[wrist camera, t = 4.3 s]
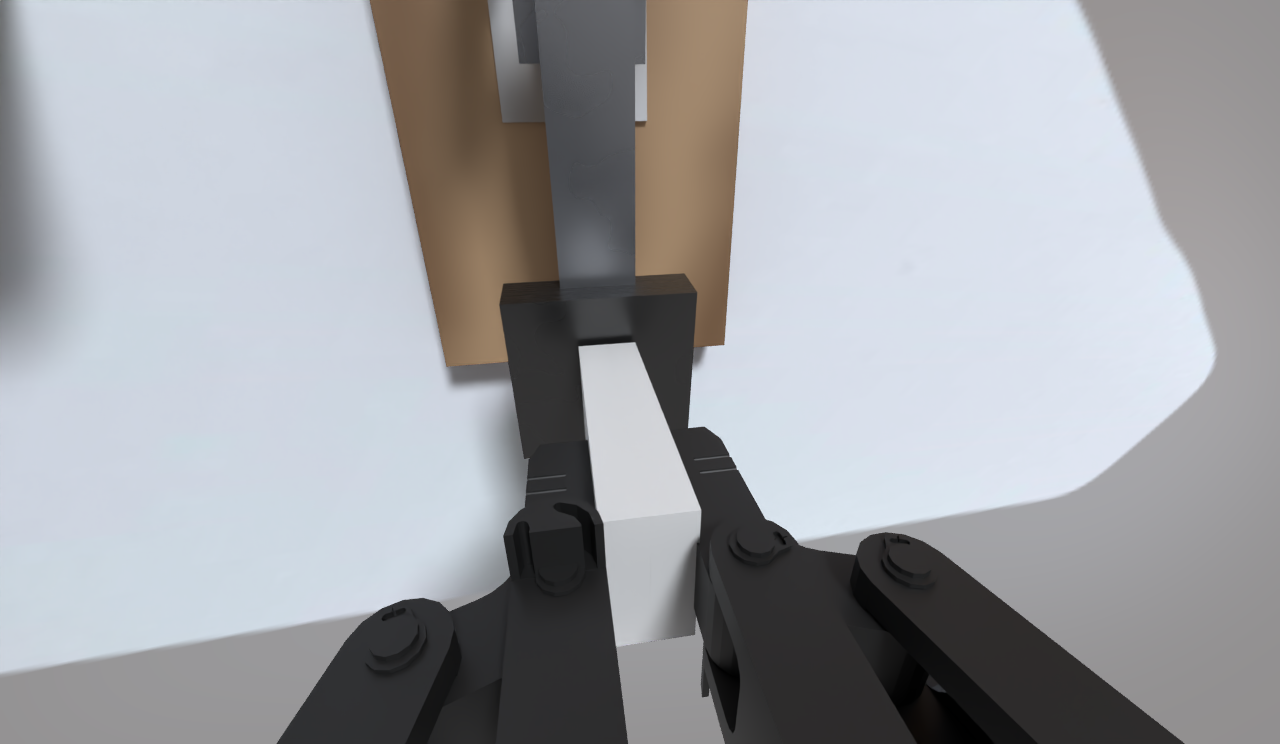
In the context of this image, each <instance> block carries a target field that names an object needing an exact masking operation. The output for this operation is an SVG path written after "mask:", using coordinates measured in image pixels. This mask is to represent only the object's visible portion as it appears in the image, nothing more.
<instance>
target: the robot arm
mask: <svg viewBox="0 0 1280 744" xmlns="http://www.w3.org/2000/svg"><path fill="white" fill-rule="evenodd" d="M578 347H579V360H580V373H581V386H582V400H583V413H584V426H585V438H586V440H581V441H571V442H561V443H551V444H541V445H539V447H538V448H537V450H536V451H535V452H534V454H533V455H532V456H531V458H530V459H529V464H528V476H527V479H528V481H527V488H526V500H525V508H523V509H522V510H520V511H519V512H518V513H517V514H516V515H515V516H514V517H513V518H512V519H511V520H510V521H509V523H508V525H507V528H506V530H505V533H504V535H503V537H504V543H505V548H506V554H507V560H508V565H509V571H510V577H509V578H508V579H507V580H506V581H505V582H504V583H503V584H502V585H501V586H500V587H498V588H497V589H496V590H494V591H493V592H492V593H490V594H488V595H486V596H484V597H482V598H480V599H478V600H476V601H474V602H471V603H469V604H467V605H464V606H462V607H459V608H457V609H455V610H452V611H450V612H449V611H448V610H447V609H446V608H445V607H444V606H443V605H442V604H441V603H440V602H436V601H432V600H429V599H425V598H419V599H410V600H402V601H400V602H397V603H395V604H392V605H390V606H387V607H385V608H382V609H381V610H379V611H378V612H376V613H375V614H373V615H372V616H370V617H369V618H368V619H366V620H365V621H363V622H362V623H361V624H360V625H359V626H358V628H357V629H356V630H355V631H354V632H353V633H352V634H351V635H350V636H349V638H348V639H347V640H346V641H345V643H344V644H343V646H342V647H341V648H340V650H339V652H338V653H337V655H336V656H335V658H334V659H333V661H332V662H331V663H330V665H329V666H328V668H327V669H326V671H325V673H324V674H323V675H322V677H321V678H320V680H319V681H318V683H317V684H316V686H315V687H314V689H313V690H312V692H311V693H310V695H309V697H308V698H307V699H306V701H305V702H304V704H303V705H302V707H301V708H300V710H299V711H298V713H297V714H296V716H295V717H294V719H293V720H292V722H291V723H290V725H289V726H288V728H287V729H286V731H285V732H284V734H283V735H282V736H281V738H280V739H279V741H278V743H277V744H628V740H627V731H626V724H625V715H624V707H623V699H622V691H621V683H620V675H619V667H618V659H617V651H616V647H619V646H625V645H632V644H638V643H645V642H652V641H657V640H665V639H670V638H677V637H683V636H690V635H695V622H696V617H697V620H698V623H699V627H700V630H701V634H702V637H703V641H704V644H703V645H704V646H703V660H702V676H701V689H702V697H707V696H709V688H710V691H711V695H712V698H713V702H714V705H715V709H716V713H717V716H718V720H719V723H720V727H721V731H722V734H723V738H724V741H725V744H1184V743H1183V742H1182V741H1181V740H1179V739H1178V738H1177V737H1176V736H1174V735H1173V734H1172V733H1170V732H1169V731H1168V730H1167V729H1165V728H1164V727H1163V726H1161V725H1160V724H1159V723H1158V722H1156V721H1155V720H1154V719H1153V718H1151V717H1150V716H1149V715H1147V714H1146V713H1145V712H1144V711H1142V710H1141V709H1140V708H1139V707H1137V706H1136V705H1135V704H1133V703H1132V702H1131V701H1130V700H1128V699H1127V698H1126V697H1125V696H1123V695H1122V694H1121V693H1119V692H1118V691H1117V690H1116V689H1114V688H1113V687H1112V686H1111V685H1109V684H1108V683H1107V682H1105V681H1104V680H1103V679H1102V678H1100V677H1099V676H1098V675H1096V674H1095V673H1094V672H1093V671H1091V670H1090V669H1089V668H1087V667H1086V666H1085V665H1083V664H1082V663H1081V662H1080V661H1079V660H1077V659H1076V658H1075V657H1074V656H1072V655H1071V654H1069V653H1068V652H1067V651H1066V650H1065V649H1063V648H1062V647H1061V646H1060V645H1058V644H1057V643H1056V642H1054V641H1053V640H1052V639H1051V638H1049V637H1048V636H1047V635H1046V634H1044V633H1043V632H1041V631H1040V630H1039V629H1038V628H1036V627H1035V626H1034V625H1033V624H1031V623H1030V622H1029V621H1028V620H1026V619H1025V618H1024V617H1023V616H1021V615H1020V614H1019V613H1017V612H1016V611H1015V610H1014V609H1012V608H1011V607H1010V606H1009V605H1007V604H1006V603H1005V602H1003V601H1002V600H1001V599H1000V598H998V597H997V596H996V595H995V594H993V593H992V592H990V591H989V590H988V589H987V588H986V587H984V586H983V585H982V584H980V583H979V582H978V581H977V580H975V579H974V578H973V577H971V576H970V575H969V574H968V573H966V572H965V571H964V570H963V569H961V568H960V567H959V566H958V565H956V564H955V563H954V562H952V561H951V560H950V559H949V558H947V557H946V556H945V555H943V554H942V553H941V552H939V551H938V550H936V549H935V548H933V547H931V546H930V545H928V544H926V543H925V542H923V541H920V540H918V539H915V538H912V537H909V536H907V535H903V534H895V533H886V532H885V533H879V534H873V535H870V536H869V537H867V538H866V539H864V540H863V541H861V543H860V545H859V548H858V551H857V554H856V555H850V554H842V553H835V552H827V551H819V550H815V549H810V548H805V547H803V546H800V545H798V543H797V541H796V540H795V539H794V538H793V537H792V536H791V535H790V533H789V532H788V531H787V530H786V529H784V528H782V527H781V526H779V525H777V524H776V523H774V522H772V521H769V520H766V519H765V518H764V516H763V514H762V512H761V510H760V509H759V507H758V505H757V503H756V501H755V500H754V498H753V496H752V494H751V492H750V491H749V489H748V487H747V485H746V483H745V482H744V480H743V478H742V476H741V474H740V473H739V471H738V470H737V469H736V465H735V464H734V462H733V460H732V458H731V457H729V453H728V451H727V449H726V447H725V446H724V444H723V442H722V440H721V439H720V438H719V437H718V436H716V435H715V434H714V433H712V432H711V431H710V430H708V429H707V428H705V427H696V428H686V429H676V430H669V427H668V424H667V422H666V419H665V417H664V414H663V412H662V409H661V407H660V404H659V402H658V399H657V397H656V394H655V392H654V389H653V387H652V384H651V381H650V379H649V376H648V374H647V371H646V369H645V366H644V364H643V361H642V359H641V356H640V354H639V351H638V349H637V346H636V343H635V342H632V343H619V344H605V345H591V346H578Z"/></svg>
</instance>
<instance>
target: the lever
mask: <svg viewBox="0 0 1280 744" xmlns="http://www.w3.org/2000/svg"><path fill="white" fill-rule="evenodd" d="M512 3H513V12H514V21H515V30H516V40H517V49H518V58H519V64H540V68H541V79H542V90H543V101H544V113H545V124H546V135H547V146H548V157H549V169H550V180H551V191H552V202H553V213H554V225H555V236H556V247H557V258H558V269H559V280H557V281H539V282H521V283H503V288H502V293H501V298H500V303H499V307H500V313H501V319H502V325H503V332H504V338H505V344H506V350H507V356H508V362H509V368H510V374H511V381H512V387H513V393H514V399H515V405H516V411H517V417H518V423H519V429H520V436H521V442H522V448H523V454H524V459H526V458H531V456H532V455H533V454H534V452H535V451H536V450H537V448H538V447H539V445H541V444H551V443H561V442H571V441H581V440H586V438H585V426H584V413H583V400H582V386H581V373H580V360H579V347H578V346H591V345H605V344H619V343H632V342H635V343H636V346H637V349H638V351H639V354H640V356H641V359H642V361H643V364H644V366H645V369H646V371H647V374H648V376H649V379H650V381H651V384H652V387H653V389H654V392H655V394H656V397H657V399H658V402H659V404H660V407H661V409H662V412H663V414H664V417H665V419H666V422H667V424H668V427H669V430H676V429H686V428H688V419H689V405H690V391H691V377H692V363H693V348H694V334H695V320H696V306H697V291H696V290H695V288H694V287H693V285H692V284H691V282H690V281H689V279H688V278H687V276H686V275H685V273H681V274H663V275H645V276H635V65H638V64H645V35H646V0H512Z"/></svg>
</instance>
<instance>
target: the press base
mask: <svg viewBox="0 0 1280 744" xmlns="http://www.w3.org/2000/svg"><path fill="white" fill-rule="evenodd" d="M370 3H371V8H372V13H373V18H374V23H375V27H376V32H377V37H378V42H379V46H380V51H381V56H382V61H383V65H384V70H385V75H386V80H387V85H388V89H389V94H390V99H391V104H392V108H393V113H394V118H395V123H396V128H397V132H398V137H399V142H400V147H401V151H402V156H403V161H404V166H405V170H406V175H407V180H408V185H409V190H410V194H411V199H412V204H413V209H414V213H415V218H416V223H417V228H418V232H419V237H420V242H421V247H422V252H423V256H424V261H425V266H426V271H427V275H428V280H429V285H430V290H431V294H432V299H433V304H434V309H435V314H436V318H437V323H438V328H439V333H440V337H441V342H442V347H443V352H444V357H445V361H446V366H447V367H449V366H462V365H474V364H487V363H500V362H508V356H507V350H506V344H505V338H504V332H503V325H502V319H501V313H500V307H499V303H500V298H501V293H502V288H503V283H521V282H539V281H557V280H559V269H558V258H557V247H556V236H555V225H554V213H553V202H552V191H551V180H550V169H549V157H548V146H547V135H546V124H545V113H544V101H543V90H542V79H541V68H540V64H519V58H518V49H517V40H516V30H515V21H514V12H513V3H512V0H370ZM747 5H748V0H646V35H645V64H638V65H635V276H645V275H663V274H681V273H685V275H686V276H687V278H688V279H689V281H690V282H691V284H692V285H693V287H694V288H695V290H696V291H697V306H696V320H695V334H694V347H704V346H717V345H724V341H725V326H726V312H727V297H728V282H729V268H730V253H731V238H732V224H733V209H734V195H735V180H736V165H737V151H738V136H739V122H740V107H741V92H742V78H743V63H744V48H745V34H746V19H747Z"/></svg>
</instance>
